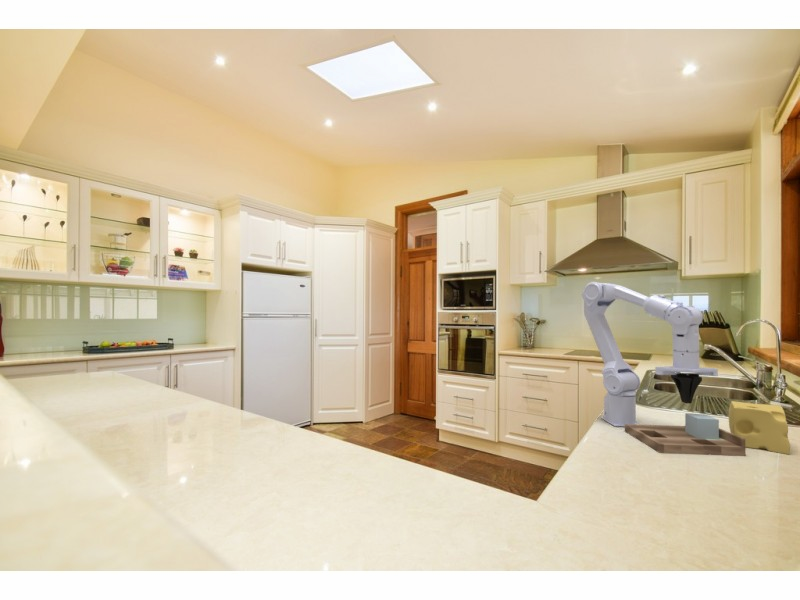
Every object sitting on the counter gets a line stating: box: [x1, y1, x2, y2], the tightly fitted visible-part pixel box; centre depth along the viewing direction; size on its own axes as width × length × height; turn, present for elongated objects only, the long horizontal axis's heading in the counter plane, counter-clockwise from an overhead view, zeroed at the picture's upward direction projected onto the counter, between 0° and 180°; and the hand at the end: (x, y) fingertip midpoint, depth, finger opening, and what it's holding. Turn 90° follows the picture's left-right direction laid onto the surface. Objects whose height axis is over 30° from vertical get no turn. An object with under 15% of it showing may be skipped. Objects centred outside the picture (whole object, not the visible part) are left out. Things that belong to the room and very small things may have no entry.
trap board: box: [624, 424, 747, 457], centre depth 102 cm, size 17×19×4 cm
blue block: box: [684, 412, 720, 440], centre depth 101 cm, size 5×5×5 cm
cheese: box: [728, 400, 791, 455], centre depth 101 cm, size 10×11×10 cm
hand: (686, 402), depth 104 cm, fingers closed
